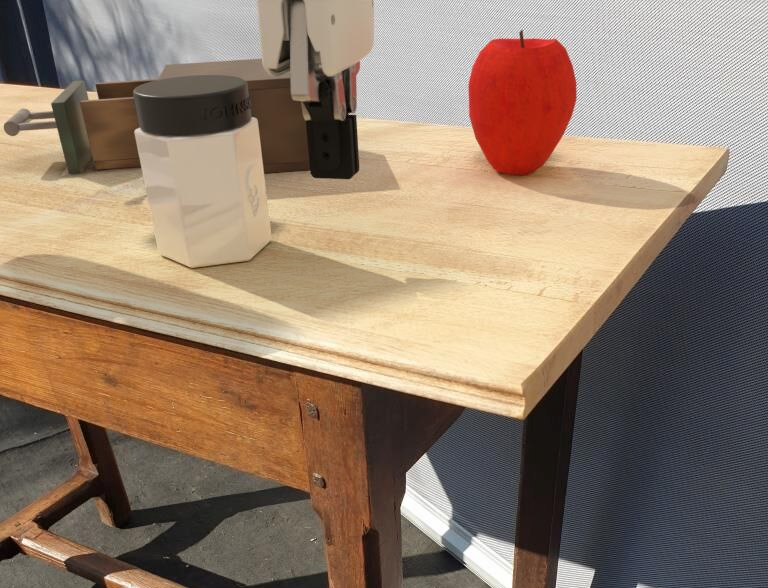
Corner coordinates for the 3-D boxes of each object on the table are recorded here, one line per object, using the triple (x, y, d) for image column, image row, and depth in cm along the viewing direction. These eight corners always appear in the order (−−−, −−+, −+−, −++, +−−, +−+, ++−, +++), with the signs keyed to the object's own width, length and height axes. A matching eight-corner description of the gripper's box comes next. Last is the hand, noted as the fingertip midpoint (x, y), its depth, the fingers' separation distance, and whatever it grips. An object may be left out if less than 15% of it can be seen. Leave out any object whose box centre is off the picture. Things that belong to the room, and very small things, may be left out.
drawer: (9, 181, 81) (-12, 107, 78) (35, 152, 91) (17, 84, 87) (207, 166, 83) (195, 93, 79) (212, 139, 92) (202, 72, 88)
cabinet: (170, 180, 83) (153, 86, 78) (180, 149, 93) (165, 64, 88) (316, 169, 84) (308, 76, 79) (310, 139, 94) (303, 55, 89)
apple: (573, 157, 84) (585, 21, 77) (566, 186, 76) (578, 37, 69) (475, 155, 86) (478, 22, 79) (458, 183, 78) (459, 38, 71)
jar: (241, 272, 62) (216, 98, 55) (143, 265, 64) (107, 97, 57) (284, 232, 69) (267, 73, 62) (195, 227, 71) (168, 72, 64)
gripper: (298, -135, 56) (321, 147, 67) (197, -137, 45) (245, 205, 55) (404, -141, 54) (411, 150, 65) (329, -146, 43) (352, 210, 53)
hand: (335, 175), depth 60 cm, fingers closed
